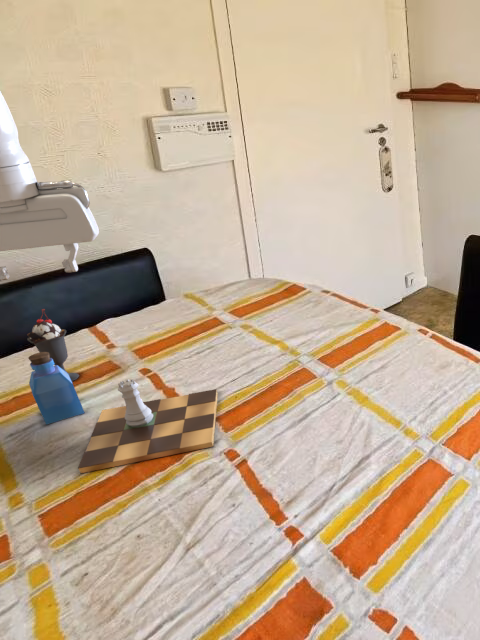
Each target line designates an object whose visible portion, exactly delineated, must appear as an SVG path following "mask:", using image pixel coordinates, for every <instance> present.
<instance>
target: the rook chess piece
mask: <svg viewBox="0 0 480 640" xmlns="http://www.w3.org/2000/svg"><path fill="white" fill-rule="evenodd" d="M138 388H139V383H137V382H136V380H134V378H130V379H129V378H126V379H125V381H124V380H120V381H119V382H118V387H117V391H118V392H120V393H121V394H122V395H121V398H122V399H123V400H124V403H125V406H126V414H125V419H126V423H127V424H128V425H129V426H133V427H138V426H142V425H145V424H147V423H149V422H150V421H151V420H152V418H153V414H152V413H151V410H150V409H149V408H148V407H147V406H146V405H144V403H143V402H144V401H143V399H142V398H141V396H140V394H141V392H140V391H139V390H138Z"/></svg>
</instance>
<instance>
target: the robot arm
mask: <svg viewBox="0 0 480 640" xmlns="http://www.w3.org/2000/svg"><path fill="white" fill-rule="evenodd" d="M74 186H75V187H74ZM90 204H91V203H90V198H89V196H88V192H87V191H86V189H85V187H83V186H82V185H81V184H78V183H76V182H73V181H72V180H67V179H66V180H65V179H64V180H60V181H40V182H38V180H37V177H36V175H35V172H34V169H33V166H32V164H31V161H30V158H29V157H28V155H27V154H26V152H24V150H23V148H22V146H21V143H20V140H19V130H18V127H17V124H16V122H15V120H14V117H13V115H12V112H11V110H10V108H9V105H8V103H7V101H6V99H5V97H4V95H3V93H2V91H1V90H0V252H8V251H16V250H25V249H35V248H43V247H54V246H63V247H64V250H65V251H66V252H69V254H68V258H67V259H64V260H63V261H62V262H61V264H62V267H63V268H64V272H65V273H66V274H67V273H76V272H78V271H79V265H78V262H77V260H76V258H77V254H78V252H79V248H80V247H79V244H80V243H90V242H94V241H95V240H96V238H98V236H99V233H100V229H99V226H98V223H97V221H96V218H95V216H94V214H93V213H92V210H91V209H90ZM10 278H11V275H10V272H8V267H7V266H6V265H5V266H0V282H1V281H7V280H9V279H10Z"/></svg>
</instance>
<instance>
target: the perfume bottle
mask: <svg viewBox="0 0 480 640" xmlns="http://www.w3.org/2000/svg"><path fill="white" fill-rule="evenodd" d="M27 358H28V360H29V362H30V363H29V366H30V368H31V370H32V371H31V373H30V377H29V381H28V384H29V389H30V390H31V395H32V396H33V399H34V401H35V404H36V405H37V408H38V410H39V412H40V414H41V416H42V418H43V421H44V423H45V425H46V426H47V425H50V424H53V423H56V422H59V421H63V420H66V419H69V418H72V417H76V416H80V415H82V414H83V415H84V414H85V410H84V408H83V405H82V403H81V400H80V397H79V396H78V393H77V390H76V388H75V386H74V383H73V381H71V379H70V377H69V375H68V373H69V372H68V371H67V370H66V371H64V370H63V369H62V368H60V367H59V366H58V365H54V361H53V359H52V358H50V356H49V353H48V352H36V353H33V354H31V355H29V356H28V357H27ZM67 372H68V373H67Z"/></svg>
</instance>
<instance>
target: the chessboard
mask: <svg viewBox="0 0 480 640" xmlns="http://www.w3.org/2000/svg"><path fill="white" fill-rule="evenodd" d="M218 396H219V393H218V390H217V388H215V389H209V390H204V391H198V392H192V393H188V394H184V395H178V396H174V397H168V398H163V399H161V398H157V399H154V400H153V399H152V400H147V401H143V403H144V405H146V406H147V407H148V408H149V409H150V410H151V413H152V414H153V418H152V420H151V421H150V422H149V423H147V424H145V425H142V426H138V427H133V426H129V425H128V424H127V423H126V419H125V414H126V405H123V406H118V407H112V408H106V409H102V410H101V412H100V414H99V417H98V419H97V421H96V423H95V425H94V428H93V431H92V433H91V435H90V439H89V442H88V444H87V447H86V449H85V451H84V452H83V455H82V458H81V460H80V461H79V462H80V463H79V465H78V467H77V469H78V471H79V473H80V474H84V473H90V472H94V471H99V470H105V469H109V468H114V467H118V466H124V465H130V464H133V463H138V462H144V461H148V460H153V459H158V458H163V457H168V456H169V457H170V456H174V455H178V454H184V453H188V452H193V451H198V450H202V449H207V448H212V447H214V443H215V431H216V420H217V419H216V418H217V407H218Z"/></svg>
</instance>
